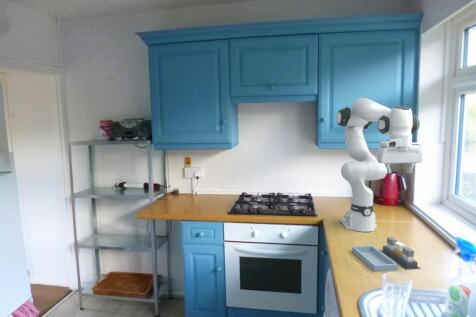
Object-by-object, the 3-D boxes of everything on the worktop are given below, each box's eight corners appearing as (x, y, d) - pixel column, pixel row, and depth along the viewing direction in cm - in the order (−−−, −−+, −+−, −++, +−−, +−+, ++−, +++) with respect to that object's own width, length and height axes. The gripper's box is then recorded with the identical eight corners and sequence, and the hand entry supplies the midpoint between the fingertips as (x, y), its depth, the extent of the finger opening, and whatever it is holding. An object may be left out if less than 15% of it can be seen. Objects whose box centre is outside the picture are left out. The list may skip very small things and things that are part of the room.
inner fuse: (386, 251, 152) (387, 237, 151) (391, 251, 152) (391, 237, 151) (391, 255, 148) (392, 240, 147) (396, 255, 148) (397, 240, 147)
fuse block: (379, 252, 153) (379, 245, 153) (393, 251, 154) (393, 244, 154) (405, 272, 134) (405, 263, 133) (421, 271, 134) (421, 263, 134)
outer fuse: (401, 263, 140) (402, 247, 139) (407, 262, 140) (408, 247, 139) (407, 267, 136) (408, 251, 135) (413, 266, 136) (414, 250, 135)
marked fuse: (393, 257, 146) (394, 242, 145) (398, 256, 146) (399, 241, 145) (399, 261, 142) (399, 245, 141) (404, 260, 142) (405, 245, 141)
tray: (351, 253, 152) (352, 246, 152) (372, 252, 153) (372, 245, 153) (374, 273, 132) (374, 265, 132) (397, 272, 133) (397, 264, 133)
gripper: (417, 141, 150) (416, 171, 152) (375, 142, 148) (374, 172, 150) (426, 142, 144) (425, 173, 146) (383, 143, 142) (382, 174, 143)
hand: (399, 172), depth 148 cm, fingers open, 8 cm apart
